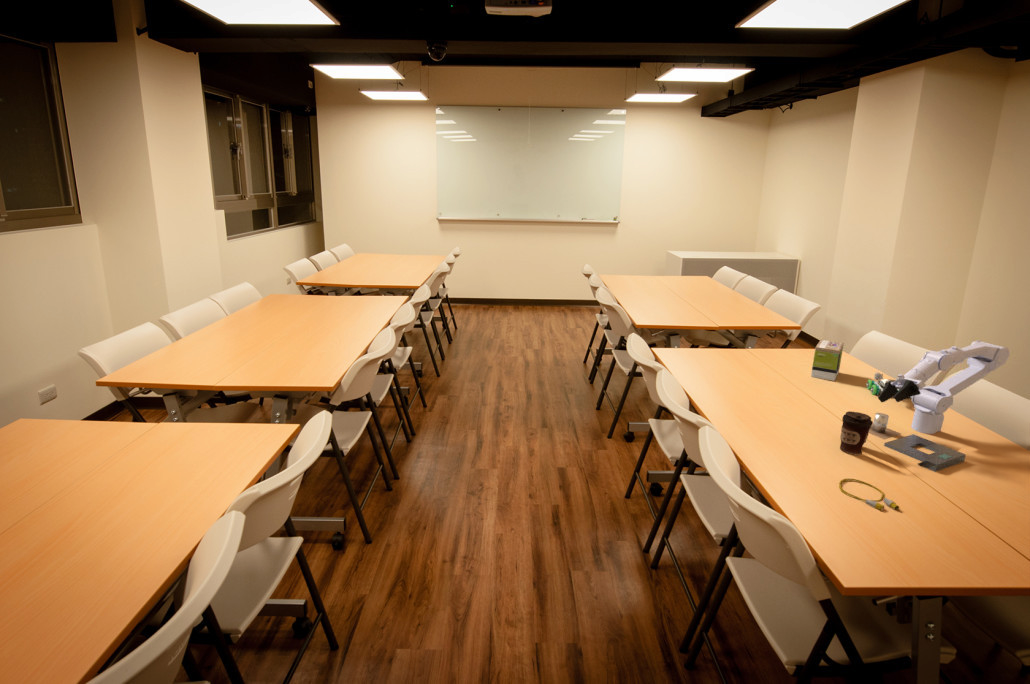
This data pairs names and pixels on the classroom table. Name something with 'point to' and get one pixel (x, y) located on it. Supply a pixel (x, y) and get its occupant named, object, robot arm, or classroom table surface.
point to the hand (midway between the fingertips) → (887, 399)
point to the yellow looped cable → (871, 502)
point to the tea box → (827, 360)
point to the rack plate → (930, 461)
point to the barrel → (880, 422)
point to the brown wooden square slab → (885, 435)
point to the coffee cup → (854, 432)
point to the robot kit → (876, 386)
